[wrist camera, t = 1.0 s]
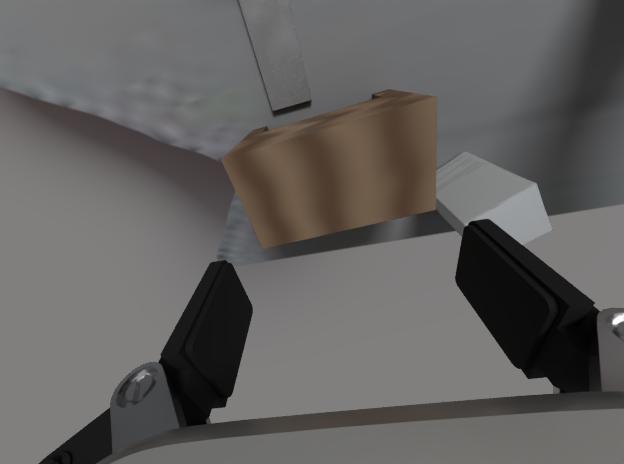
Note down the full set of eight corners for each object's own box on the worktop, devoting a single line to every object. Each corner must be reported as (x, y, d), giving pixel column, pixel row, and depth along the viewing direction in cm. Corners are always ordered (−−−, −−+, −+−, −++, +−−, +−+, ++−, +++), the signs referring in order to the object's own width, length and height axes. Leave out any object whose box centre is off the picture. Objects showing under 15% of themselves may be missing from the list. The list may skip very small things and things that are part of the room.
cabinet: (388, 89, 30) (436, 96, 18) (395, 166, 35) (436, 209, 24) (247, 132, 32) (212, 161, 21) (273, 198, 38) (256, 250, 26)
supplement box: (438, 214, 39) (486, 265, 29) (417, 181, 36) (462, 224, 26) (484, 187, 37) (555, 232, 26) (466, 148, 34) (538, 182, 23)
